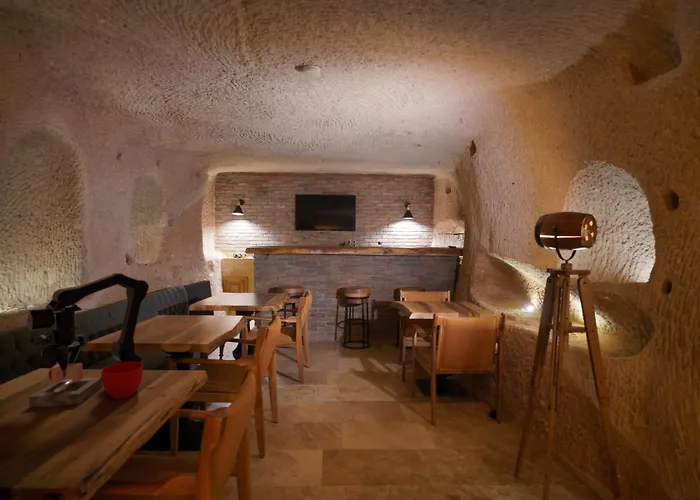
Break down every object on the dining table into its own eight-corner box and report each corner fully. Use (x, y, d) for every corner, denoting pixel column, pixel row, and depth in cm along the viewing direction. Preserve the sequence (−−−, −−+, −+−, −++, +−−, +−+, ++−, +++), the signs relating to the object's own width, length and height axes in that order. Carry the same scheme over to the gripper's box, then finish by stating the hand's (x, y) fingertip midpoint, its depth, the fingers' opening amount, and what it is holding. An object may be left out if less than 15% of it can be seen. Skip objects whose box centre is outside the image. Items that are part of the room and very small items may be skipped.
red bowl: (157, 384, 152) (156, 358, 152) (128, 403, 135) (127, 374, 135) (125, 383, 153) (124, 357, 153) (93, 402, 136) (92, 373, 136)
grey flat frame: (102, 386, 150) (102, 377, 150) (79, 404, 135) (79, 393, 134) (57, 389, 148) (57, 379, 148) (29, 407, 133) (28, 396, 132)
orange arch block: (82, 378, 144) (82, 362, 144) (76, 382, 140) (76, 366, 140) (58, 379, 143) (58, 364, 143) (52, 383, 139) (51, 367, 139)
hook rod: (80, 379, 148) (80, 374, 148) (58, 393, 135) (58, 389, 134) (76, 379, 148) (75, 375, 148) (53, 394, 134) (53, 389, 134)
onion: (52, 381, 157) (51, 361, 156) (69, 379, 158) (68, 359, 158) (46, 386, 151) (45, 365, 151) (63, 384, 153) (63, 364, 153)
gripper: (56, 320, 149) (58, 361, 149) (22, 332, 130) (24, 379, 131) (88, 319, 150) (90, 360, 151) (59, 330, 132) (61, 377, 132)
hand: (67, 368), depth 141 cm, fingers closed on orange arch block, 4 cm apart
